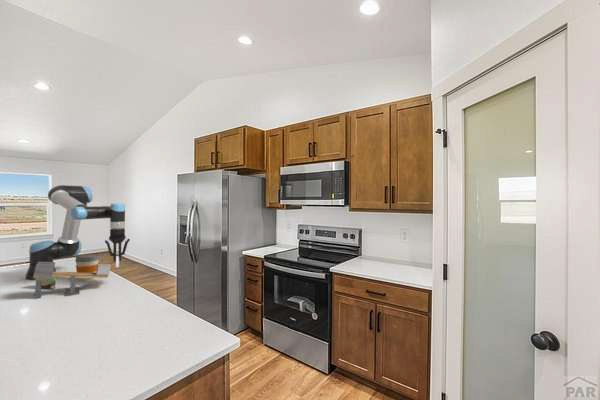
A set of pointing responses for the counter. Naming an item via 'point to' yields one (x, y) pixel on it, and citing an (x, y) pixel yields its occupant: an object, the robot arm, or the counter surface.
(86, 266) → the reusable coffee cup
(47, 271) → the balance beam
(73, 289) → the balance stand
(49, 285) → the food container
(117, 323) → the counter surface
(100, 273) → the block
